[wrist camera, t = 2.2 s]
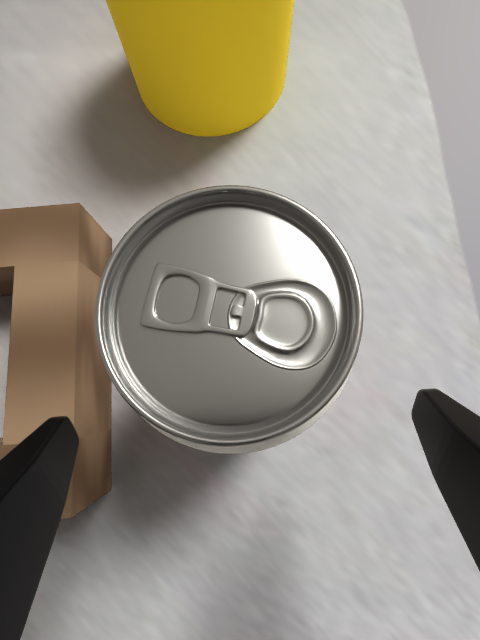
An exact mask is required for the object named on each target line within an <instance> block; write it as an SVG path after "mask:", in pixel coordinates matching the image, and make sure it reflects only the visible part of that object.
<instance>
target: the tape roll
mask: <svg viewBox="0 0 480 640" xmlns="http://www.w3.org/2000/svg"><path fill="white" fill-rule="evenodd" d="M106 2H107V5H108V8H109V10H110V13H111V16H112V19H113V21H114V24H115V27H116V29H117V32H118V35H119V38H120V40H121V43H122V46H123V49H124V51H125V54H126V57H127V60H128V62H129V65H130V68H131V71H132V73H133V76H134V79H135V82H136V84H137V87H138V90H139V93H140V95H141V98H142V100H143V102H144V104H145V105H146V107H147V108H148V110H149V111H150V112H151V113H152V114H153V116H155V117H156V118H157V119H158V120H159V121H160V122H162V123H163V124H165V125H166V126H168V127H170V128H172V129H174V130H176V131H179V132H182V133H185V134H189V135H194V136H204V137H212V136H222V135H227V134H232V133H235V132H238V131H241V130H243V129H245V128H247V127H249V126H251V125H253V124H255V123H256V122H258V121H259V120H260V119H262V118H263V117H264V116H265V115H266V114H267V113H268V112H269V111H270V110H271V109H272V108H273V106H274V105H275V104H276V102H277V100H278V99H279V97H280V95H281V93H282V90H283V87H284V83H285V76H286V67H287V58H288V50H289V41H290V33H291V24H292V16H293V7H294V0H106Z"/></svg>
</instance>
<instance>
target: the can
mask: <svg viewBox="0 0 480 640" xmlns="http://www.w3.org/2000/svg"><path fill="white" fill-rule="evenodd" d="M362 328H363V301H362V293H361V288H360V284H359V280H358V277H357V274H356V271H355V268H354V266H353V263H352V261H351V259H350V257H349V255H348V253H347V251H346V250H345V248H344V246H343V245H342V243H341V242H340V241H339V239H338V238H337V236H336V235H335V234H334V233H333V232H332V230H331V229H330V228H329V227H328V226H327V225H326V224H325V223H324V222H323V221H322V220H321V219H320V218H318V217H317V216H316V215H315V214H314V213H312V212H311V211H310V210H308V209H307V208H305V207H304V206H302V205H300V204H299V203H297V202H295V201H293V200H291V199H289V198H287V197H285V196H282V195H280V194H277V193H274V192H271V191H268V190H264V189H260V188H255V187H249V186H238V185H223V186H213V187H206V188H201V189H197V190H193V191H190V192H187V193H184V194H181V195H179V196H176V197H174V198H172V199H170V200H168V201H166V202H164V203H162V204H160V205H159V206H157V207H156V208H154V209H153V210H151V211H150V212H148V213H147V214H146V215H145V216H143V217H142V218H141V219H140V220H139V221H138V222H136V223H135V224H134V225H133V226H132V227H131V228H130V230H129V231H128V232H127V233H126V234H125V235H124V237H123V238H122V239H121V240H120V242H119V243H118V245H117V246H116V248H115V249H114V251H113V253H112V254H111V256H110V258H109V260H108V262H107V264H106V266H105V269H104V271H103V274H102V277H101V280H100V283H99V287H98V292H97V297H96V304H95V331H96V338H97V344H98V348H99V352H100V355H101V358H102V361H103V364H104V366H105V369H106V371H107V373H108V375H109V377H110V379H111V381H112V382H113V384H114V386H115V387H116V389H117V390H118V392H119V393H120V394H121V396H122V397H123V398H124V399H125V401H126V402H127V403H128V404H129V405H130V406H131V407H132V408H133V409H134V410H135V411H136V412H137V413H138V414H139V415H140V416H141V417H142V418H143V419H144V420H145V421H147V422H148V423H149V424H150V425H151V426H152V427H154V428H155V429H156V430H158V431H159V432H161V433H162V434H164V435H165V436H167V437H169V438H171V439H172V440H174V441H176V442H179V443H181V444H183V445H186V446H189V447H192V448H195V449H198V450H202V451H207V452H213V453H222V454H240V453H249V452H256V451H260V450H264V449H268V448H271V447H274V446H277V445H279V444H282V443H284V442H286V441H288V440H290V439H292V438H294V437H296V436H297V435H299V434H301V433H302V432H304V431H305V430H306V429H308V428H309V427H310V426H312V425H313V424H314V423H315V422H316V421H318V420H319V419H320V418H321V417H322V416H323V415H324V414H325V413H326V412H327V410H328V409H329V408H330V407H331V406H332V404H333V403H334V402H335V400H336V399H337V398H338V396H339V394H340V393H341V391H342V389H343V388H344V386H345V384H346V382H347V380H348V377H349V375H350V373H351V370H352V367H353V364H354V361H355V358H356V355H357V352H358V349H359V345H360V341H361V335H362Z"/></svg>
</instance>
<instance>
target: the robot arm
mask: <svg viewBox="0 0 480 640" xmlns="http://www.w3.org/2000/svg"><path fill="white" fill-rule="evenodd" d="M412 420H413V423H414V426H415V428H416V431H417V434H418V436H419V439H420V442H421V445H422V447H423V450H424V453H425V455H426V458H427V461H428V464H429V466H430V469H431V471H432V474H433V476H434V479H435V481H436V483H437V485H438V487H439V489H440V492H441V494H442V496H443V498H444V500H445V502H446V504H447V506H448V508H449V510H450V512H451V514H452V516H453V518H454V520H455V522H456V524H457V526H458V528H459V530H460V532H461V534H462V536H463V538H464V540H465V542H466V544H467V546H468V548H469V550H470V553H471V555H472V557H473V559H474V561H475V563H476V565H477V567H478V569H479V571H480V417H479V416H478V415H476V414H475V413H473V412H472V411H470V410H469V409H467V408H466V407H464V406H463V405H461V404H460V403H458V402H457V401H455V400H453V399H452V398H450V397H449V396H447V395H446V394H444V393H443V392H441V391H440V390H438V389H422V390H419V391H418V393H417V396H416V399H415V402H414V405H413V409H412ZM78 447H79V436H78V434H77V432H76V430H75V428H74V426H73V424H72V422H71V420H70V419H69V417H67V416H56V417H51V418H49V419H47V420H46V421H45V422H44V423H43V424H41V425H40V426H39V427H38V428H37V429H36V430H34V431H33V432H32V433H31V434H30V435H29V436H27V437H26V438H25V439H24V440H23V441H22V442H20V443H19V444H18V445H17V446H16V447H15V448H13V449H12V450H11V451H10V452H9V453H8V454H6V455H5V456H4V457H3V458H2V459H1V460H0V640H20V638H21V635H22V632H23V629H24V627H25V624H26V621H27V618H28V615H29V612H30V609H31V606H32V603H33V600H34V597H35V594H36V591H37V588H38V585H39V582H40V579H41V576H42V573H43V570H44V567H45V564H46V561H47V558H48V555H49V552H50V549H51V546H52V543H53V540H54V537H55V534H56V531H57V528H58V525H59V522H60V519H61V516H62V513H63V510H64V507H65V504H66V500H67V496H68V491H69V487H70V483H71V478H72V474H73V469H74V465H75V460H76V456H77V451H78Z"/></svg>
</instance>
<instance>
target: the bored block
mask: <svg viewBox="0 0 480 640" xmlns="http://www.w3.org/2000/svg"><path fill="white" fill-rule="evenodd" d="M111 254H112V239H111V238H110V237H109V235H108V234H107V233H106V232H105V231H104V230H103V229H102V228H101V226H100V225H99V224H98V223H97V222H96V221H95V220H94V219H93V218H92V216H91V215H90V214H89V213H88V212H87V211H86V210H85V209H84V207H83V206H82V205H81V204H80V203H74V204H62V205H50V206H38V207H25V208H13V209H1V210H0V296H2V295H13V299H12V314H11V329H10V344H9V359H8V374H7V389H6V404H5V419H4V434H3V438H0V460H1V459H2V458H3V457H4V456H5V455H6V454H8V453H9V452H10V451H11V450H12V449H13V448H15V447H16V446H17V445H18V444H19V443H20V442H22V441H23V440H24V439H25V438H26V437H27V436H29V435H30V434H31V433H32V432H33V431H34V430H36V429H37V428H38V427H39V426H40V425H41V424H43V423H44V422H45V421H46V420H47V419H49V418H51V417H56V416H67V417H69V419H70V420H71V422H72V424H73V426H74V428H75V430H76V432H77V434H78V436H79V447H78V451H77V456H76V460H75V465H74V469H73V474H72V478H71V483H70V487H69V491H68V496H67V500H66V504H65V507H64V510H63V513H62V516H61V519H65V518H72V517H74V516H75V515H76V514H78V513H79V512H81V511H82V510H83V509H85V508H86V507H88V506H89V505H90V504H92V503H93V502H95V501H96V500H97V499H99V498H100V497H102V496H103V495H104V494H106V493H107V492H109V491H110V490H111V379H110V377H109V375H108V373H107V371H106V369H105V366H104V364H103V361H102V358H101V355H100V352H99V348H98V344H97V338H96V331H95V304H96V297H97V292H98V287H99V283H100V280H101V277H102V274H103V271H104V269H105V266H106V264H107V262H108V260H109V258H110V256H111Z"/></svg>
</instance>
